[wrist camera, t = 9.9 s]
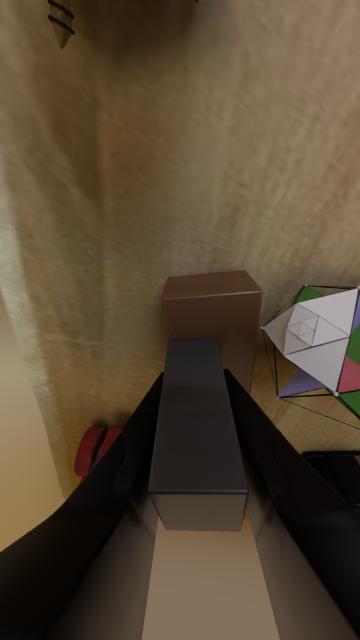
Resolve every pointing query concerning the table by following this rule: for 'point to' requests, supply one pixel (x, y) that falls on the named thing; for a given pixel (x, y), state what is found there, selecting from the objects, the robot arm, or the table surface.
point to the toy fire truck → (93, 448)
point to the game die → (62, 20)
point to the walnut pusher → (203, 401)
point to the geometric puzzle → (321, 344)
